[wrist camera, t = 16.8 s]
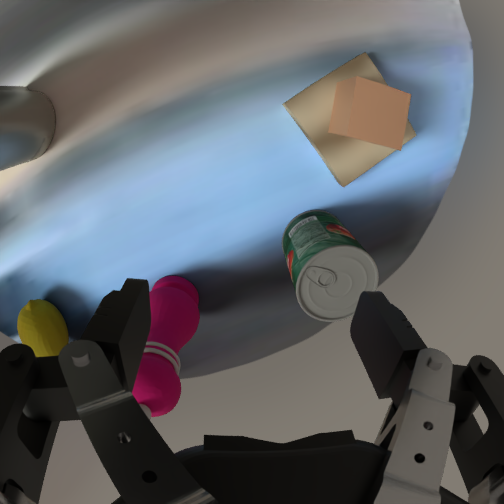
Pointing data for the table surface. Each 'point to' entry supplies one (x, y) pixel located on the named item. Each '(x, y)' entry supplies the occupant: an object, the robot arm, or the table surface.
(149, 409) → the pepper mill
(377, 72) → the post base
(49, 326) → the lemon
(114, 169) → the table surface
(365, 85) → the cardboard cube
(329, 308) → the canned tomato
